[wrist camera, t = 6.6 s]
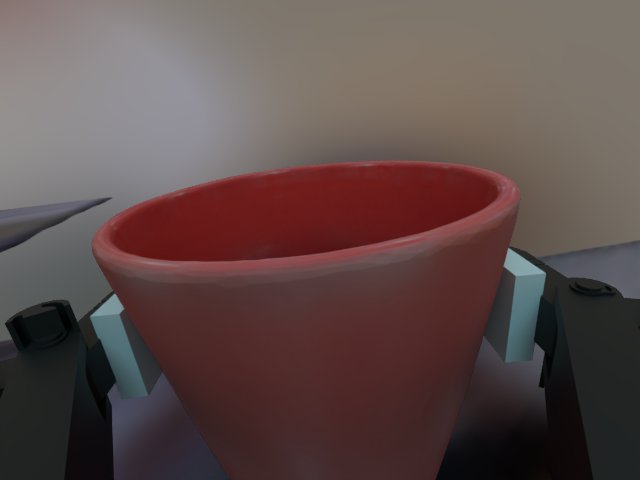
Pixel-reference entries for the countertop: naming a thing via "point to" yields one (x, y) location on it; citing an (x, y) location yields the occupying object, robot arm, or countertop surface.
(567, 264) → the countertop surface
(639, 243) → the countertop surface
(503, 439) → the countertop surface
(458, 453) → the countertop surface
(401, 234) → the flower pot
